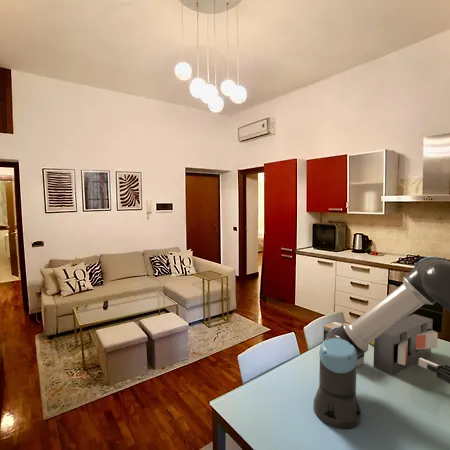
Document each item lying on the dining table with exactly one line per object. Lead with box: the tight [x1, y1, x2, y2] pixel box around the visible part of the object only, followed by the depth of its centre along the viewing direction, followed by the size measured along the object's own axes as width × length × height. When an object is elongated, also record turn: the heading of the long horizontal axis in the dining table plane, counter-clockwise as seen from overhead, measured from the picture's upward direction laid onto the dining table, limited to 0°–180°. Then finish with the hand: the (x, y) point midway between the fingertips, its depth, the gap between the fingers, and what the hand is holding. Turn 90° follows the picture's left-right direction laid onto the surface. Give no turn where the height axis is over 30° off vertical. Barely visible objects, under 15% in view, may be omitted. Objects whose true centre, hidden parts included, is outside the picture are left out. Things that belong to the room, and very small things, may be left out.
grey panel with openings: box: [372, 313, 434, 377], centre depth 130 cm, size 34×8×17 cm, turn 121°
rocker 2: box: [416, 329, 439, 350], centre depth 132 cm, size 12×3×7 cm, turn 99°
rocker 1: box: [398, 339, 408, 365], centre depth 122 cm, size 12×3×7 cm, turn 143°
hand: (419, 361), depth 113 cm, fingers closed
